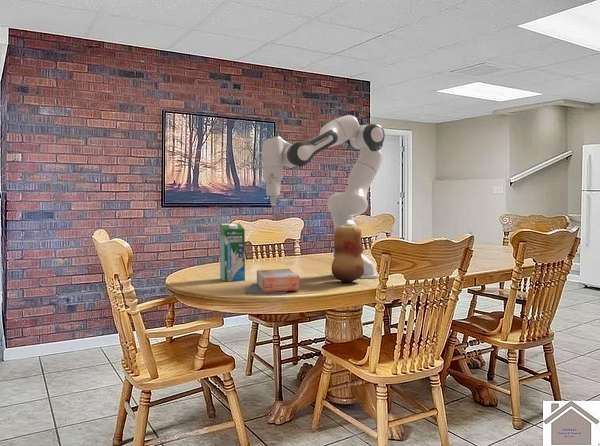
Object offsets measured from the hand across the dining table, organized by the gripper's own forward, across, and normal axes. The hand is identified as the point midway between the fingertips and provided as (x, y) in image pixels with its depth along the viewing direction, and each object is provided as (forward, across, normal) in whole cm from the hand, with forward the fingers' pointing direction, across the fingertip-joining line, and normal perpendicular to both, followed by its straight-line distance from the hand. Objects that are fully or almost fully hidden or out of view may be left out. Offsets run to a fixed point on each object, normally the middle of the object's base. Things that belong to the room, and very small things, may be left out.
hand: (273, 206), depth 214 cm
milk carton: (+33, +4, +19) cm, 38 cm away
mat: (+32, -18, 0) cm, 37 cm away
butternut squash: (+33, -1, -32) cm, 46 cm away
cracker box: (+29, -7, 0) cm, 30 cm away
